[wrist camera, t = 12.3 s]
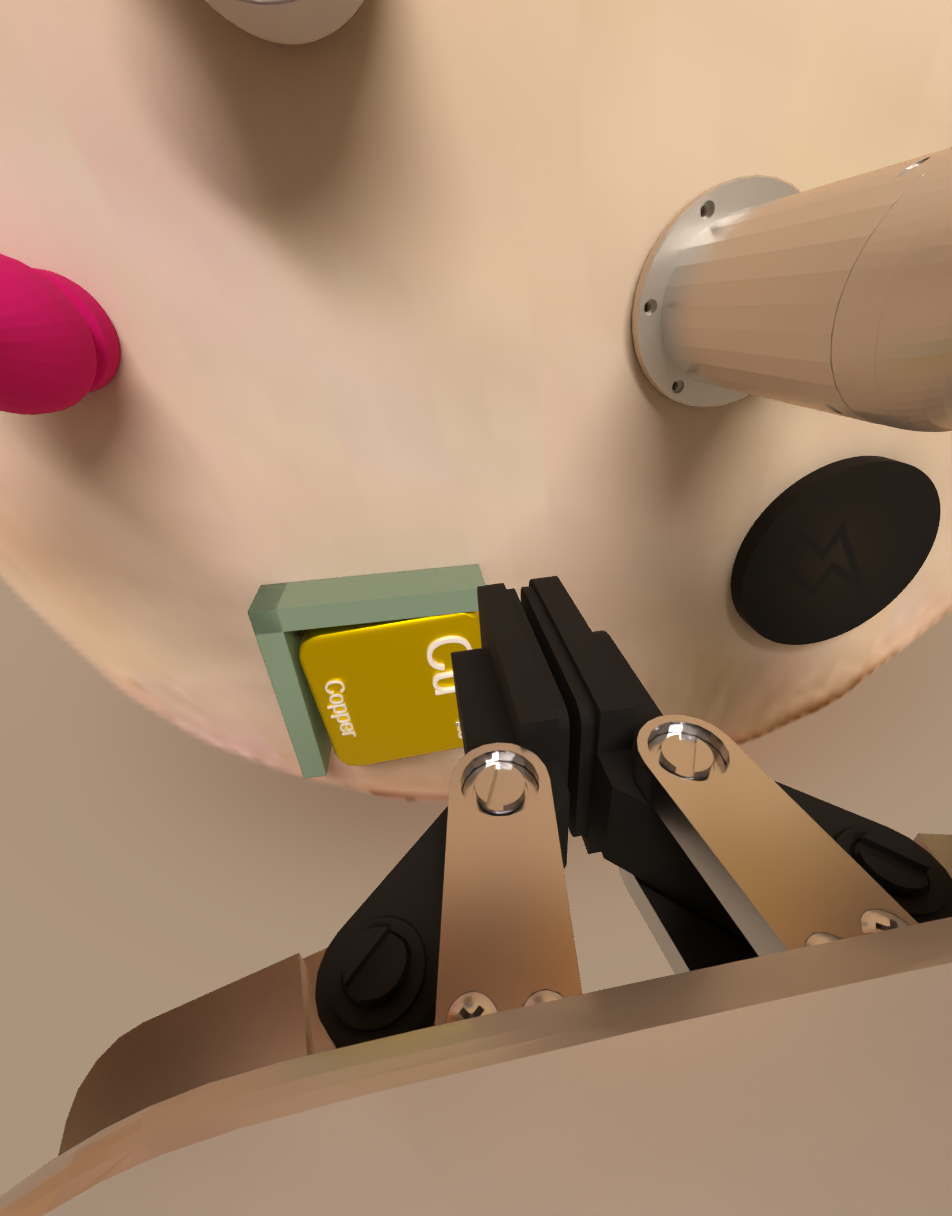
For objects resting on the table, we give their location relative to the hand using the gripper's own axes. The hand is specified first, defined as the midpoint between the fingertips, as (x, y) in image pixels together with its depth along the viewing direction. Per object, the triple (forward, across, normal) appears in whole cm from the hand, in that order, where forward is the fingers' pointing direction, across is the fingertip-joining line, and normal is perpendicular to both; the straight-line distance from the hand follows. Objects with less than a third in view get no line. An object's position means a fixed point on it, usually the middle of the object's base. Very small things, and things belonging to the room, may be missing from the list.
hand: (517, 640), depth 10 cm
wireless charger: (+28, -34, +15) cm, 47 cm away
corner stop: (+27, +7, +20) cm, 35 cm away
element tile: (+28, +5, +22) cm, 35 cm away
